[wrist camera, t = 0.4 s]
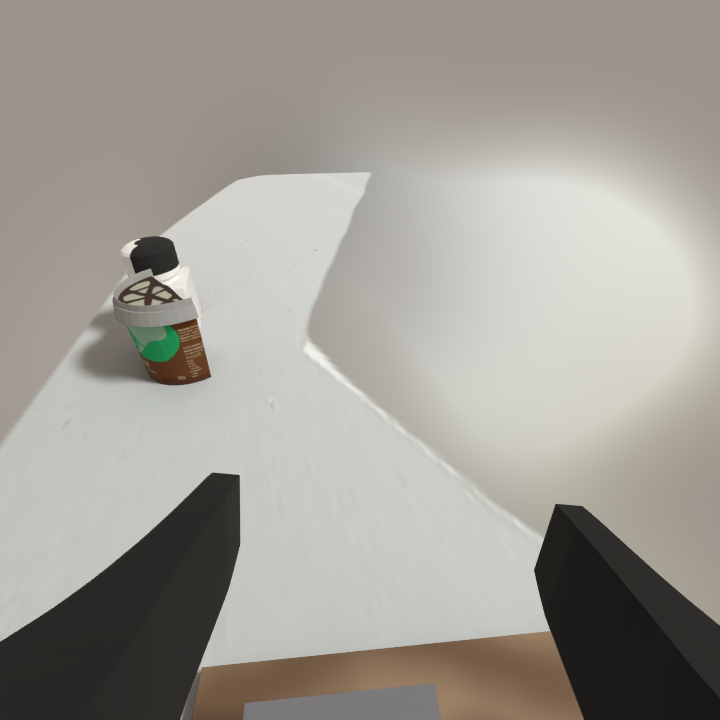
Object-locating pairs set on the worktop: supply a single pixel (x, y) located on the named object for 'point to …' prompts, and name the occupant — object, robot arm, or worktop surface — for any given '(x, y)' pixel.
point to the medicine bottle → (160, 266)
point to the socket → (353, 706)
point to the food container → (162, 329)
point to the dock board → (410, 679)
